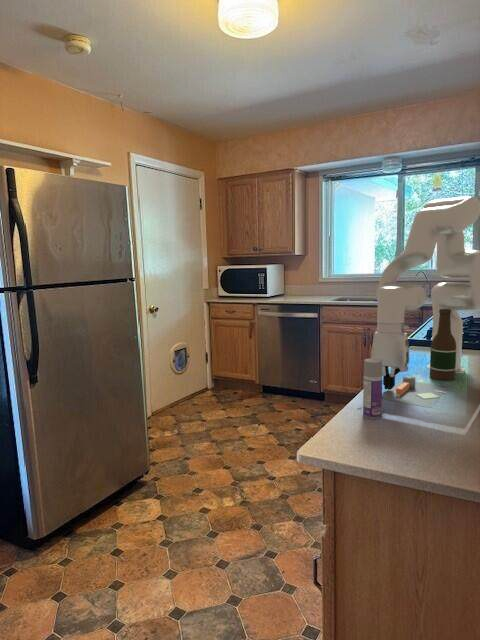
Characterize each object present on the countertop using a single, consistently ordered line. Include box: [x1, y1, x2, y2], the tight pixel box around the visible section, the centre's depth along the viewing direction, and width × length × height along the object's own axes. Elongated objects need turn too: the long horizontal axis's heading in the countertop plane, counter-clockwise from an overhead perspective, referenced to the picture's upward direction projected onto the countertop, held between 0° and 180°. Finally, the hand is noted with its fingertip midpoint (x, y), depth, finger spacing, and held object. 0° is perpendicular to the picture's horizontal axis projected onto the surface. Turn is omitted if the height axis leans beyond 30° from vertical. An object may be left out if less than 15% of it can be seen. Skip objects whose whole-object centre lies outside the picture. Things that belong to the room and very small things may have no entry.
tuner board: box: [382, 379, 450, 408], centre depth 128 cm, size 22×14×1 cm, turn 143°
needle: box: [396, 375, 416, 395], centre depth 129 cm, size 12×4×3 cm, turn 142°
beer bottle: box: [429, 309, 456, 382], centre depth 140 cm, size 8×8×24 cm
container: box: [362, 357, 383, 420], centre depth 113 cm, size 5×5×15 cm
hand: (388, 388), depth 130 cm, fingers closed
